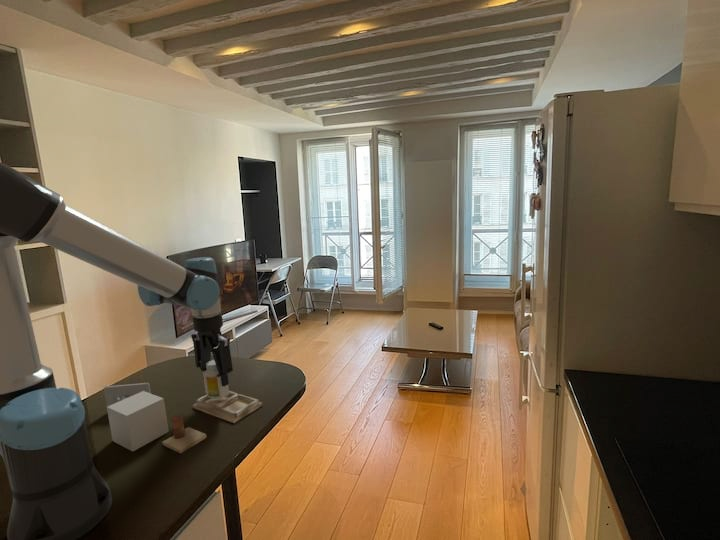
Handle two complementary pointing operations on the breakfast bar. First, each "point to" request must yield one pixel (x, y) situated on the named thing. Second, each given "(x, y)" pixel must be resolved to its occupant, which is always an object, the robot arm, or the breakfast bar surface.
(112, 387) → the cassette
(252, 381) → the breakfast bar surface
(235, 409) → the beige divided tray
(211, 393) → the supplement bottle
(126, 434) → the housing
